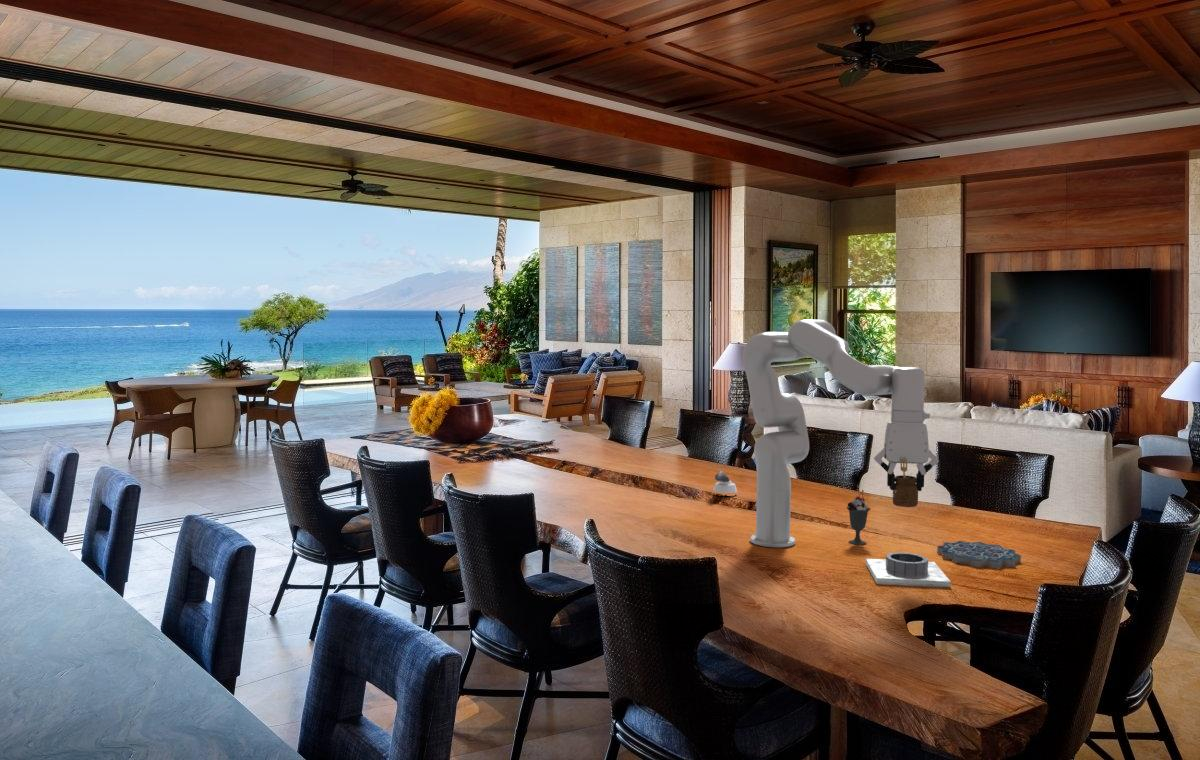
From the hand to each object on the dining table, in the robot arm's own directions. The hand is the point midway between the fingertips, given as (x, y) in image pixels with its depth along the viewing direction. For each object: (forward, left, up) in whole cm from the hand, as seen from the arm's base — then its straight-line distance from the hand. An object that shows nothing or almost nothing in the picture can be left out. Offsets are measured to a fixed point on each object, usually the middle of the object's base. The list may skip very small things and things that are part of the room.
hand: (905, 488), depth 211 cm
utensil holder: (0, 0, -4) cm, 4 cm away
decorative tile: (-20, +23, -22) cm, 38 cm away
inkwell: (-88, -45, -22) cm, 101 cm away
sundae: (-30, -7, -22) cm, 38 cm away
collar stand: (0, +1, -22) cm, 22 cm away
